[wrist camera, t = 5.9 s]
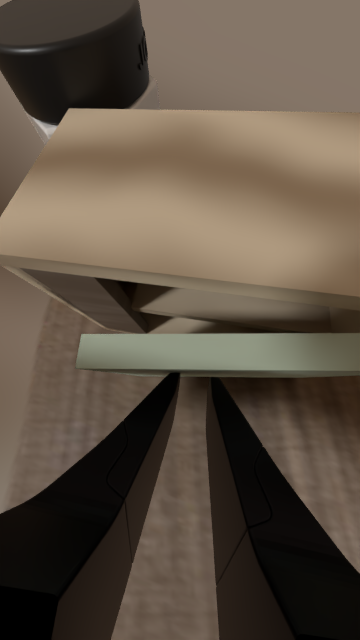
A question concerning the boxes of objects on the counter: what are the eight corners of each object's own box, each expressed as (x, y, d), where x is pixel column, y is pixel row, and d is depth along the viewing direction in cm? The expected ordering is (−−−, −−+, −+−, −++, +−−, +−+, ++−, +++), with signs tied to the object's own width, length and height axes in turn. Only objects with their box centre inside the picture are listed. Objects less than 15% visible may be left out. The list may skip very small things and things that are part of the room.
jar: (185, 221, 20) (178, 3, 8) (122, 261, 18) (11, 70, 7) (141, 179, 22) (89, -31, 11) (83, 211, 21) (-43, 13, 10)
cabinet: (294, 359, 14) (505, 314, 5) (105, 329, 16) (-22, 251, 6) (292, 264, 17) (421, 113, 8) (131, 247, 19) (69, 108, 9)
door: (298, 377, 14) (460, 371, 5) (141, 376, 14) (74, 368, 6) (295, 361, 14) (442, 333, 6) (142, 360, 15) (81, 334, 7)
